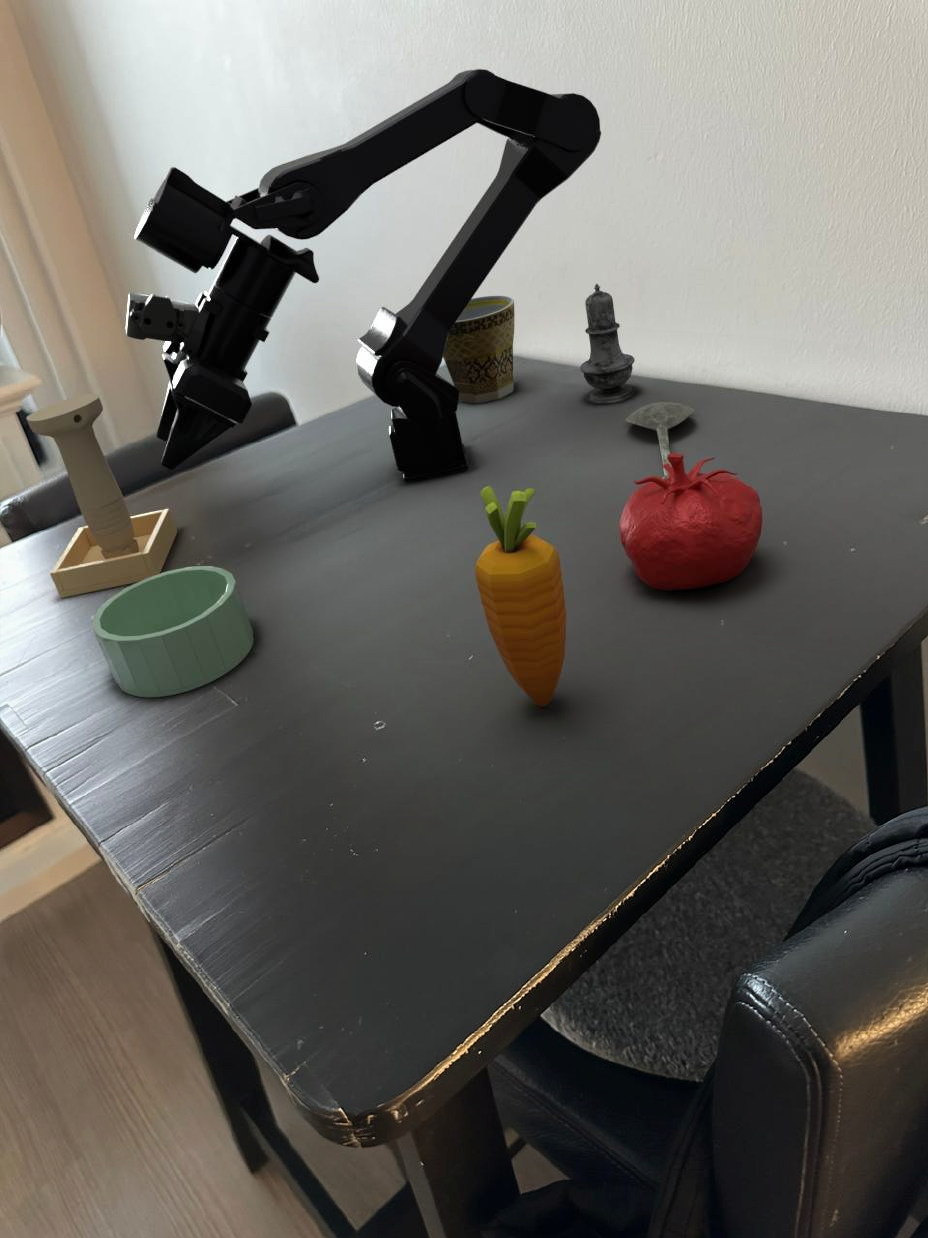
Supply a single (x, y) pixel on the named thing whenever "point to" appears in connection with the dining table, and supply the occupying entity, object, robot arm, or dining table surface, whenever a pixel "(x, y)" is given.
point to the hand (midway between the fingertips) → (163, 452)
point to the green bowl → (174, 631)
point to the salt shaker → (605, 353)
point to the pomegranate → (690, 527)
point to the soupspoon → (661, 422)
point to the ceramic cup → (482, 349)
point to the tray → (93, 572)
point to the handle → (88, 471)
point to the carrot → (523, 598)
